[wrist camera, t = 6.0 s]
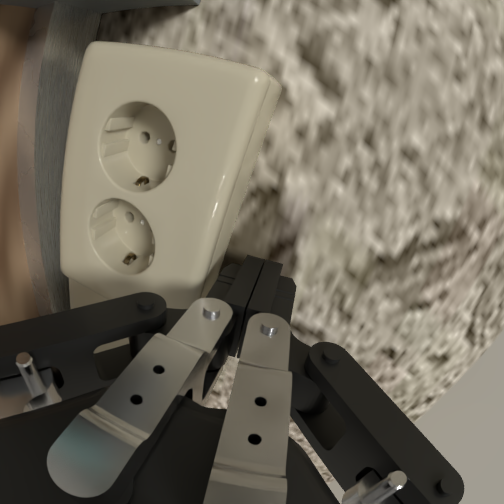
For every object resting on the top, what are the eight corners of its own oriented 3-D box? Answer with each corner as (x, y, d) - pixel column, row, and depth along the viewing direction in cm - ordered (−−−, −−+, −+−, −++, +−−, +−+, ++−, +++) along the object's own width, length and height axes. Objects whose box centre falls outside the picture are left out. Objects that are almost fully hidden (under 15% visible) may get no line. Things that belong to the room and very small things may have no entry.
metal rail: (81, 17, 11) (35, 8, 7) (101, 13, 10) (55, 1, 7) (82, 341, 20) (57, 369, 17) (97, 348, 20) (72, 378, 17)
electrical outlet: (68, 364, 16) (83, 39, 8) (99, 328, 20) (139, 51, 12) (165, 417, 16) (269, 69, 8) (188, 372, 20) (284, 84, 11)
